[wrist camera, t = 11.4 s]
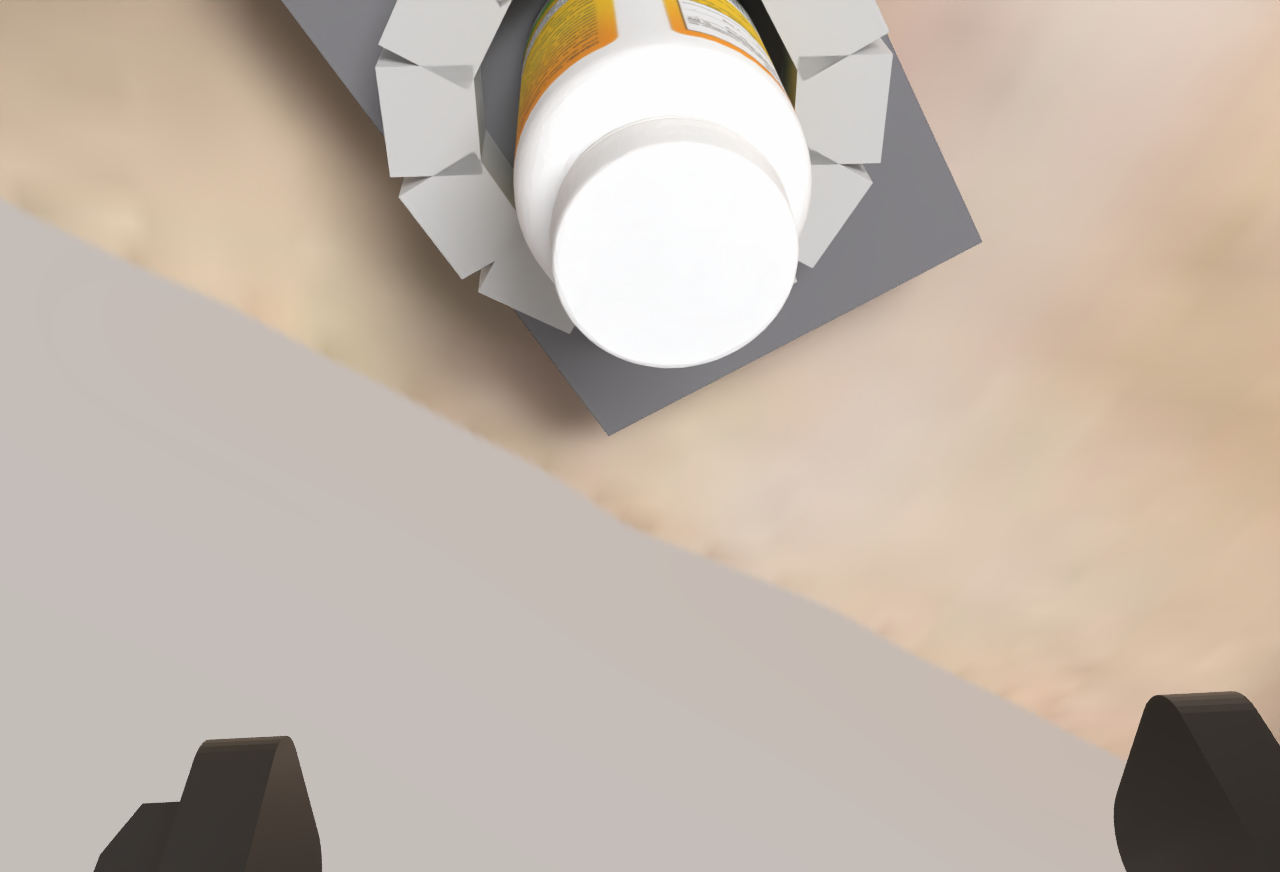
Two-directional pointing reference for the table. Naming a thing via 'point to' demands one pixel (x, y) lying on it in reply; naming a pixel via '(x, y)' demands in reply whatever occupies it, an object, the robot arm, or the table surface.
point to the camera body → (485, 150)
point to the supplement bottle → (660, 175)
